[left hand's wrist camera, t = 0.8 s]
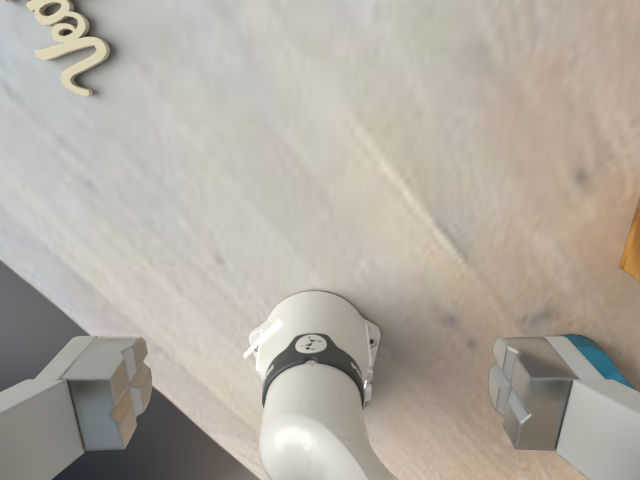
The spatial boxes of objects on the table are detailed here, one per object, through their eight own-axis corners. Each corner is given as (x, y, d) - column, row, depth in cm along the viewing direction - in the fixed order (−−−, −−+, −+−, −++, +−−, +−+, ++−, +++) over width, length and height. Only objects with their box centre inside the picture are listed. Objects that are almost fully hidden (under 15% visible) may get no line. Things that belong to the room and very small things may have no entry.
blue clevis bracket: (635, 400, 69) (687, 456, 59) (573, 433, 71) (613, 492, 62) (580, 321, 64) (627, 367, 54) (516, 360, 66) (549, 411, 57)
